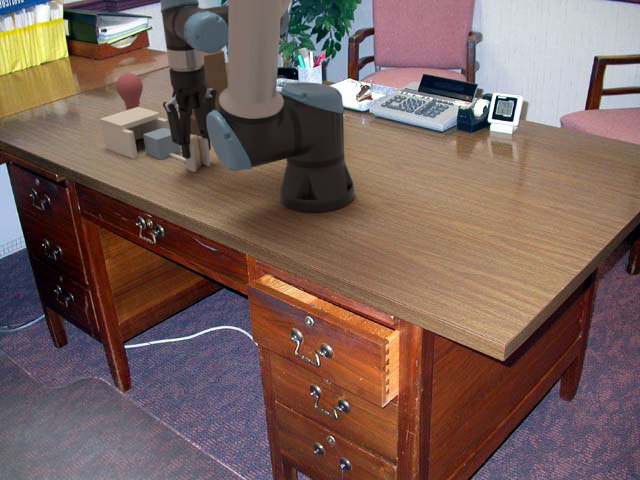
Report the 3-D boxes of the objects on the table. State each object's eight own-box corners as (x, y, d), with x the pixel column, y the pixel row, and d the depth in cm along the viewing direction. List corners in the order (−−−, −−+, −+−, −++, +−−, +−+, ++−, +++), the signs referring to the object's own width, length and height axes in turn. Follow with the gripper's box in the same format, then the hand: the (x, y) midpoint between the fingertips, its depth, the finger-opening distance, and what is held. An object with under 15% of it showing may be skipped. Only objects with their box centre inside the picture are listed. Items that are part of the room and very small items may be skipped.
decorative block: (196, 137, 181) (185, 58, 171) (185, 131, 185) (174, 55, 175) (233, 127, 187) (225, 50, 177) (222, 121, 191) (213, 47, 181)
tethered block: (146, 153, 172) (141, 126, 169) (167, 146, 176) (162, 119, 172) (188, 171, 161) (183, 142, 157) (209, 163, 164) (205, 135, 161)
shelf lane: (105, 148, 177) (99, 118, 173) (143, 135, 184) (138, 106, 180) (133, 158, 169) (128, 128, 166) (172, 144, 177) (167, 115, 173)
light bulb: (141, 120, 195) (134, 77, 189) (117, 119, 196) (109, 77, 190) (151, 112, 201) (144, 70, 195) (127, 111, 202) (120, 70, 197)
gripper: (205, 55, 158) (215, 152, 170) (144, 72, 148) (159, 174, 160) (227, 60, 154) (236, 160, 166) (166, 79, 144) (180, 183, 155)
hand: (198, 167), depth 163 cm, fingers closed on tethered block, 3 cm apart
